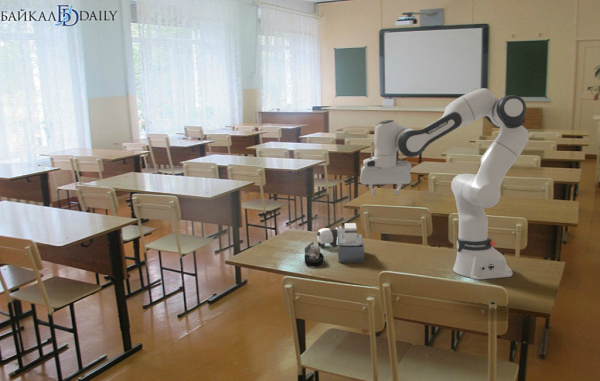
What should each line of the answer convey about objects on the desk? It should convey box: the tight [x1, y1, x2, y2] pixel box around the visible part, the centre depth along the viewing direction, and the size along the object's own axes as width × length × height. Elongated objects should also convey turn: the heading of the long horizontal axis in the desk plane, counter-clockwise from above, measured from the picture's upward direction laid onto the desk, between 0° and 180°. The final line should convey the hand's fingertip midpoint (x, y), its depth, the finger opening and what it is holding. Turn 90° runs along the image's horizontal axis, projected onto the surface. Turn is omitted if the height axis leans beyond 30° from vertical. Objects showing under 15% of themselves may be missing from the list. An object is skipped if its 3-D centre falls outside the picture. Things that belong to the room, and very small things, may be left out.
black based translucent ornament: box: [303, 241, 325, 268], centre depth 233 cm, size 7×11×10 cm
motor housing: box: [337, 233, 365, 264], centre depth 238 cm, size 11×15×9 cm
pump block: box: [343, 222, 358, 242], centre depth 237 cm, size 5×8×7 cm, turn 177°
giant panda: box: [316, 224, 345, 249], centre depth 255 cm, size 15×6×10 cm, turn 110°
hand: (385, 194), depth 219 cm, fingers open, 8 cm apart
